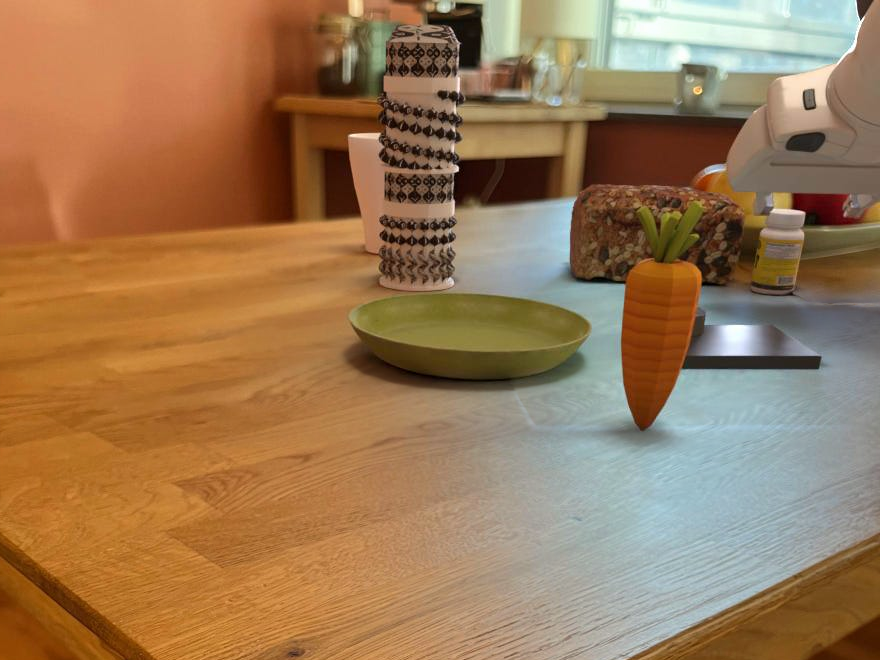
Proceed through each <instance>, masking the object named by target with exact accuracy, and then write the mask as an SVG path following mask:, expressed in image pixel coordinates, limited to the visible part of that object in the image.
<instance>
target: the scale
mask: <svg viewBox="0 0 880 660" xmlns="http://www.w3.org/2000/svg"><path fill="white" fill-rule="evenodd" d="M706 317H707V311H706V310H705V309H703V308H702V307H699V306H697V311H696V316H695V321H694V326H693V330H692V335H691V339H690V344H689V347H688V350H687V353H686V356H685V359H684V362H683V365H682V368H681V370H819V369H820V365H821V361H822V357H823V356H822V355H821V354H819V353H817V352H816V351H814V350H813V349H811V348H809V347H808V346H806V345H805V344H803V343H802V342H800V341H798V340H797V339H795V338H793V337H792V336H790V335H789V334H787V333H786V332H784V331H782V330H781V329H779V328H777V327H776V326H774V325H773V324H768V325H767V324H705V322H706Z"/></svg>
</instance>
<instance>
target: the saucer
mask: <svg viewBox="0 0 880 660" xmlns="http://www.w3.org/2000/svg"><path fill="white" fill-rule="evenodd" d="M347 317H348V318H347V319H348V322H349V324H350V326H351V327H352V329H353V331H354V332H355V335H357V337H358V338H359V340H361V342H362V343H363V344H364V345H365V347H367V348H368V349H369V350H370V352H372V353H373V355H375V356H376V357H378V358H379V359H380V360H382V361H384V362H385V363H387V364H389V365H392V366H394V367H397V368H399V369H402V370H406V371H409V372H413V373H416V374H421V375H426V376H427V375H428V376H431V377H432V376H433V377H441V378H447V379H456V380H457V379H459V380H474V381H475V380H478V381H479V380H480V381H486V380H487V381H488V380H489V381H490V380H492V381H493V380H510V379H519V378H525V377H531V376H536V375H539V374H542V373H545V372H547V371H550V370H553V369H554V368H556V367H558V366H559V365H561V364H563V363H564V362H565V361H566V360H567V359H569V358H570V357H571V356H573V354H574V353H575V352H576V351H577V350H578V349H580V348H581V346H582V345H583V344H584V343H585V341H586V340H587V338H588V337H589V336H590V335H591V332H592V330H593V326H592V324H591V322H590V321H589V320H588V319H587V318H586V317H584V316H583V315H581V314H579V313H578V312H575V311H573V310H571V309H568V308H565V307H563V306H559V305H556V304H551V303H549V302H544V301H540V300H534V299H528V298H523V297H522V298H521V297H515V296H508V295H498V294H489V293H488V294H487V293H472V292H424V293H411V294H401V295H393V296H387V297H382V298H381V297H380V298H376V299H372V300H370V301H366V302H365V303H361V304H359V305H357V306H355V307H354V308H352V309H351V310H350V311H349V313H348V316H347Z"/></svg>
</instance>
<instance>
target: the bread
mask: <svg viewBox="0 0 880 660" xmlns="http://www.w3.org/2000/svg"><path fill="white" fill-rule="evenodd" d="M692 201H699V202H701V204H702V206H703V208H704V211H703V213H702V214H701V216H700V218H699V220H698V221H697V223H696V224H695V226H694V228H693V229H692V231H691V232H690V234H689V235H691V234H698V236H699V239H698V240H697V241H696V242H695V243H694V244H693V245H691V246H690V247H689V248H688V249H687V250H686V251H685V252H684V253H682V254H681V255H680V256H679V257H678V258H677V259H679V260H682V261H686V262H689V263H692V264H693V265H695V266H697V268H698V269H699V270H700V272H701V276H702V283H701V284H717V285H723V284H726V283H730V282H731V281H732V280H733V279H734V276H735V273H736V272H735V271H736V267H738V262H740V259H739V258H740V257H739V256H740V255H741V251H742V247H741V246H742V244H743V239H744V235H745V230H744V225H745V219H746V212H745V210H743V208H742V207H741V205H739V204H737V203H735V201H734V200H733V199H732V198H731V197H729V196H728V195H727V194H722V193H712V192H709V191H704V190H699V189H695V188H694V189H693V188H690V189H689V188H687V187H681V186H676V185H674V186H673V185H672V186H669V185H665V186H664V185H659V184H653V185H651V184H644V185H626V184H622V185H615V184H610V183H607V184H597V183H596V184H594V183H593V184H590V186H588V187H586V188H584V189H583V190H581V191H580V192H579V194H578V195H577V198H576V200H575V201H574V203H573V206H572V211H571V219H570V230H569V257H568V258H569V267H570V270H571V272H572V274H573V276H574V278H575V279H583V280H587V281H591V280H592V279H594V278H600V277H601V278H605V279H608V280H613V281H618V282H626V280H627V276H628V274H629V272H630V270H631V269H632V268H633V267H635V266H636V265H637V264H638V263H639V262H641V261H643V260H645V259H651V258H654V256H653V253H652V250H651V247H650V245H649V242H648V239H647V236H646V233H645V231H644V228H643V225H642V223H641V221H640V219H639V217H638V215H637V213H636V212H637V211H638V210H639V209H640V208H641V207H644V206H647V208H648V209H649V210H650V212H651V214H652V216H653V218H654V221H655V225H656V229H657V233H658V237H659V238H660V230H661V216H662V215H663V214H664V213H666V212H668V213H669V214H670V215H671V214H672V213H673V212H674V211H675V212H679V213H680V214H682V216H681V218H680V220H679V222H678V224H677V225H676V227H675V229H674V230H676V229H677V227H678V225H679V223H680V221H681V219H682V218H683V216H684V214H685V212H686V211H687V209H688V207H689V206H690V204H691V203H692Z"/></svg>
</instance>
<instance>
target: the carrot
mask: <svg viewBox="0 0 880 660" xmlns="http://www.w3.org/2000/svg"><path fill="white" fill-rule="evenodd" d="M703 211H704V208H703V206H702V204H701V202H699V201H692V203H691V204H690V206H689V207H688V209H687V211H686V212H685V214H684V216H683V218H682V219H681V221H680V223H679V225H678V227H677V229H676V230H674V229H675V227H676V225H677V224H678V222H679V220H680V218H681V216H682V214H680V213H679V212H675V211H674V212H673V213H672V214H671V215H670V214H669V213H668V212H666V213H664V214H663V215H662V216H661V230H660V238H659V237H658V233H657V229H656V225H655V221H654V218H653V216H652V214H651V212H650V210H649V209H648V208H647V206H644V207H641V208H640V209H639V210H638V211H637V212H636V213H637V215H638V217H639V219H640V221H641V223H642V225H643V228H644V231H645V233H646V236H647V239H648V242H649V245H650V247H651V250H652V253H653V256H654V258H651V259H645V260H643V261H641V262H639V263H638V264H637V265H636V266H635V267H633V268H632V269H631V270H630V272H629V274H628V276H627V280H626V281H625V288H624V296H623V297H624V298H623V308H622V320H621V321H622V322H621V335H620V349H621V350H620V351H621V352H620V353H621V370H622V371H621V373H622V383H623V384H622V385H623V389H624V393H625V397H626V402H627V405H628V408H629V412H630V413H631V416H632V419H633V422H634V424H635V425H636V426H637V427H638V429H639V430H640V431H642V432H643V431H646V430H647V429H649V428H650V427H651V426H652V425H653V424H654V422H655V420H656V419H657V417H658V416H659V414H660V413H661V411H662V410H663V409H664V407H665V405H666V404H667V402H668V400H669V399H670V397H671V395H672V393H673V390H674V388H675V387H676V384H677V382H678V378H679V375H680V373H681V370H682V369H681V368H682V365H683V362H684V359H685V356H686V353H687V350H688V347H689V344H690V339H691V335H692V330H693V326H694V321H695V316H696V311H697V307H699V300H700V295H701V289H702V284H703V283H702V276H701V272H700V270H699V269H698V268H697V266H695V265H693V264H692V263H689V262H686V261H682V260H679V259H677V258H678V257H679V256H680V255H681V254H682V253H684V252H685V251H686V250H687V249H688V248H689V247H690V246H691V245H693V244H694V243H695V242H696V241H697V240H698V239H699V236H698V234H691V235H689V234H690V232H691V231H692V229H693V228H694V226H695V224H696V223H697V221H698V220H699V218H700V216H701V214H702V213H703Z"/></svg>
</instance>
